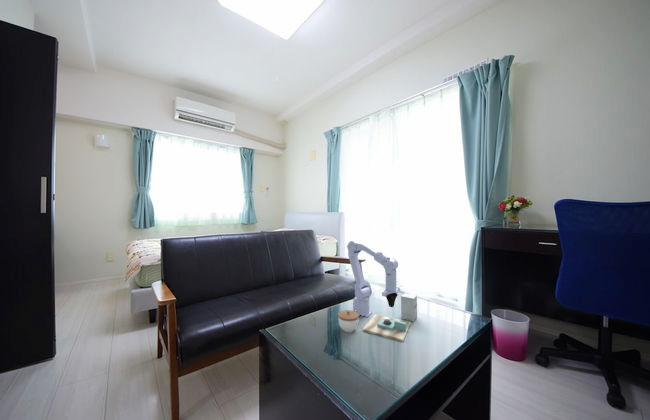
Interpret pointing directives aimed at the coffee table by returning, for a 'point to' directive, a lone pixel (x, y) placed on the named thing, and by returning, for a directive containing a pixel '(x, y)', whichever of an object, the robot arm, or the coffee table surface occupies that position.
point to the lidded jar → (348, 320)
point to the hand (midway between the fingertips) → (391, 306)
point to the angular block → (393, 325)
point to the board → (395, 334)
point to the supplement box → (409, 306)
